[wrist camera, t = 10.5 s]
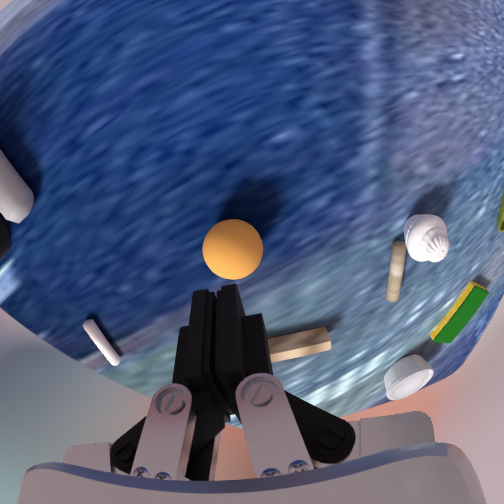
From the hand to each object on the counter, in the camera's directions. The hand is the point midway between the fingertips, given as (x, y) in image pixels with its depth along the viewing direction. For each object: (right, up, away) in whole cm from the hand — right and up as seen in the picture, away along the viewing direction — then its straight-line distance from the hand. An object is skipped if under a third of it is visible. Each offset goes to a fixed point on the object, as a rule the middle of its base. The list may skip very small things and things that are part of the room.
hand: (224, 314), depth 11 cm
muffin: (+22, +6, +21) cm, 31 cm away
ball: (-1, +3, +17) cm, 17 cm away
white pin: (-23, -8, +24) cm, 34 cm away
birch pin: (+20, +3, +21) cm, 29 cm away
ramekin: (+34, -22, +39) cm, 56 cm away
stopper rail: (+3, -11, +29) cm, 31 cm away
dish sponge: (+42, -9, +32) cm, 54 cm away
